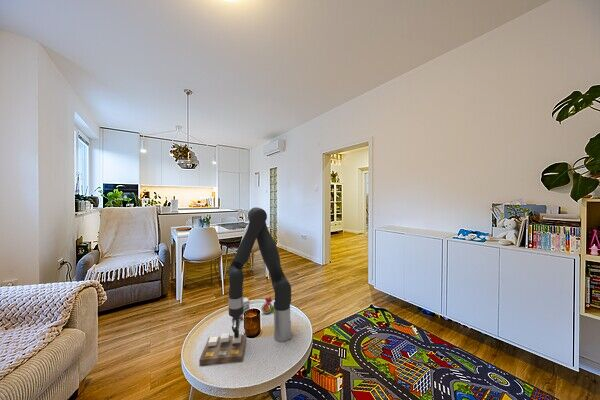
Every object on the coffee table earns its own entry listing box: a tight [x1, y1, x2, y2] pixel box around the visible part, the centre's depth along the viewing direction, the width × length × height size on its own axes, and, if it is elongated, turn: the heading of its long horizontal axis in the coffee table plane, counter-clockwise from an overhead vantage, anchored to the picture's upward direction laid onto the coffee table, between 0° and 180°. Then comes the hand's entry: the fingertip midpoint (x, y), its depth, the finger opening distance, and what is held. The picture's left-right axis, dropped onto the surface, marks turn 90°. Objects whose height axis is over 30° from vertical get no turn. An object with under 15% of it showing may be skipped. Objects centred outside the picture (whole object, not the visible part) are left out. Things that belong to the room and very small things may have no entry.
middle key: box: [220, 332, 231, 342], centre depth 118 cm, size 4×4×2 cm
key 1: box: [208, 336, 219, 346], centre depth 117 cm, size 4×4×2 cm
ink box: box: [240, 297, 250, 321], centre depth 146 cm, size 8×5×12 cm, turn 123°
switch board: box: [198, 334, 247, 367], centre depth 116 cm, size 20×16×3 cm
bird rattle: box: [261, 296, 274, 315], centre depth 151 cm, size 6×11×9 cm
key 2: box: [232, 333, 242, 343], centre depth 119 cm, size 4×4×2 cm
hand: (236, 336), depth 119 cm, fingers closed
